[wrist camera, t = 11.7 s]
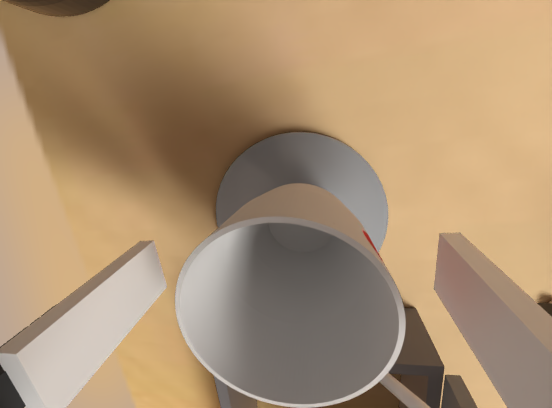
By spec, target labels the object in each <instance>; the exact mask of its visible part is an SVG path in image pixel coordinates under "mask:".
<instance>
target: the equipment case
mask: <svg viewBox="0 0 552 408" xmlns="http://www.w3.org/2000/svg"><path fill="white" fill-rule="evenodd" d="M404 311H405V320H406V327H405V337H404V342H403V345H402V349H401V351H400V354H399V356H398V358H397V360H396V362H395V363H394V365H393V366H392V368H391V369H390V371H389V372H388V373H387V374H386V375H385V376H384V377H383V378H382V379H381V380H380V381H379V382H380V383H381V384H382V385H383V386H385V387H386V388H387V389H388V390H389V391H390V392H391V393H392V394H394V395H395V396H396V397H397V398H398V399H399V400H400V402H399V408H440V399H441V391H442V382H443V374H444V365H443V363H442V361H441V359H440V357H439V355H438V353H437V350H436V348H435V346H434V344H433V342H432V340H431V338H430V336H429V334H428V332H427V330H426V328H425V326H424V324H423V322H422V320H421V318H420V316H419V314H418V312H417V310H416V308H404ZM391 374H401V383H400V382H399V381H398V380H397V379H396V378H394V377H393V376H392V375H391ZM214 379H215V384H216V388H217V393H218V397H219V401H220V406H221V408H258V406H257V400H256V399H254V398H251V397H249V396H247V395H244V394H242V393H240V392H238V391H236V390H235V389H233V388H231V387H229V386H228V385H226V384H225V383H223V382H222V381H221V380H219V379H218V378H217V377H215V376H214ZM441 408H477V406H476V404H475V402H474V400H473V398H472V397H471V395H470V393H469V391H468V389H467V387H466V385H465V383H464V381H463V380H462V378H461V376H457V375H445V381H444V389H443V397H442V406H441Z"/></svg>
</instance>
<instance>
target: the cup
mask: <svg viewBox="0 0 552 408" xmlns="http://www.w3.org/2000/svg"><path fill="white" fill-rule="evenodd" d="M175 309H176V316H177V320H178V324H179V327H180V330H181V332H182V335H183V337H184V339H185V341H186V343H187V345H188V346H189V348H190V349H191V351H192V352H193V354H194V355H195V356H196V358H197V359H198V360H199V361H200V362H201V364H202V365H203V366H204V367H205V368H206V369H207V370H208V371H209V372H211V373H212V374H213V375H214V376H215V377H217V378H218V379H219V380H221V381H222V382H223V383H225V384H226V385H228V386H229V387H231V388H233V389H235V390H236V391H238V392H240V393H242V394H244V395H247V396H249V397H251V398H254V399H257V400H260V401H263V402H266V403H270V404H275V405H280V406H286V407H296V408H312V407H323V406H329V405H333V404H337V403H341V402H344V401H347V400H350V399H352V398H354V397H357V396H359V395H361V394H362V393H364V392H366V391H367V390H369V389H370V388H372V387H373V386H375V385H376V384H377V383H378V382H379V381H380V380H381V379H382V378H383V377H384V376H385V375H386V374H387V373H388V372H389V371H390V369H391V368H392V366H393V365H394V363H395V362H396V360H397V358H398V356H399V354H400V351H401V349H402V345H403V342H404V337H405V327H406V320H405V311H404V306H403V302H402V298H401V296H400V293H399V290H398V288H397V286H396V284H395V282H394V280H393V279H392V277H391V275H390V273H389V271H388V270H387V268H386V266H385V264H384V262H383V261H382V259H381V257H380V255H379V253H378V252H377V250H376V248H375V246H374V244H373V243H372V241H371V239H370V237H369V235H368V234H367V232H366V230H365V228H364V227H363V225H362V224H361V222H360V221H359V220H358V219H357V218H356V217H355V215H354V214H353V213H352V212H351V211H350V210H349V209H348V208H347V207H346V206H345V205H344V204H343V203H342V202H341V201H340V200H339V199H338V198H337V197H336V196H334V195H333V194H332V193H330V192H328V191H327V190H325V189H323V188H320V187H318V186H314V185H310V184H303V183H293V184H287V185H283V186H279V187H277V188H275V189H273V190H270V191H268V192H266V193H264V194H262V195H260V196H258V197H256V198H254V199H252V200H251V201H249V202H248V203H246V204H245V205H244V206H242V207H241V208H240V209H239V210H238V211H237V212H236V213H234V214H233V215H232V216H231V217H230V218H229V219H228V220H226V221H225V222H224V223H223V224H222V225H221V226H220V227H219V228H217V229H216V230H215V231H214V232H213V233H212V234H211V235H210V236H208V237H207V238H206V239H205V240H204V241H203V242H202V243H201V244H199V245H198V246H197V247H196V249H195V250H194V251H193V252H192V253H191V255H190V256H189V257H188V259H187V260H186V262H185V264H184V266H183V268H182V270H181V272H180V275H179V278H178V281H177V286H176V292H175Z"/></svg>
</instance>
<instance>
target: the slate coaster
mask: <svg viewBox="0 0 552 408" xmlns="http://www.w3.org/2000/svg"><path fill="white" fill-rule="evenodd" d="M293 183H303V184H310V185H314V186H318V187H320V188H323V189H325V190H327V191H328V192H330V193H332V194H333V195H334V196H336V197H337V198H338V199H339V200H340V201H341V202H342V203H343V204H344V205H345V206H346V207H347V208H348V209H349V210H350V211H351V212H352V213H353V214H354V215H355V217H356V218H357V219H358V220H359V221H360V222H361V224H362V225H363V227H364V228H365V230H366V232H367V234H368V235H369V237H370V239H371V241H372V243H373V244H374V246H375V248H376V250H377V252H379V250H380V248H381V246H382V243H383V241H384V239H385V235H386V231H387V225H388V205H387V200H386V195H385V192H384V189H383V187H382V184H381V182H380V180H379V178H378V176H377V174H376V173H375V172H374V170H373V169H372V167H371V166H370V165H369V163H368V162H367V161H366V160H365V159H364V158H363V157H362V156H361V155H360V154H359V153H357V152H356V151H355V150H353V149H352V148H351V147H349V146H348V145H346V144H344V143H342V142H341V141H339V140H336V139H334V138H331V137H329V136H326V135H321V134H317V133H310V132H289V133H283V134H278V135H275V136H272V137H269V138H266V139H264V140H262V141H260V142H258V143H256V144H254V145H253V146H251V147H250V148H248V149H247V150H246V151H244V152H243V153H242V154H241V155H240V156H239V157H238V158H237V159H236V160H235V161H234V162H233V163H232V165H231V166H230V167H229V169H228V171H227V172H226V174H225V176H224V178H223V180H222V182H221V184H220V188H219V191H218V195H217V201H216V219H217V226H218V228H219V227H220V226H221V225H222V224H223V223H224V222H225V221H226V220H228V219H229V218H230V217H231V216H232V215H233V214H234V213H236V212H237V211H238V210H239V209H240V208H241V207H242V206H244V205H245V204H246V203H248V202H249V201H251V200H252V199H254V198H256V197H258V196H260V195H262V194H264V193H266V192H268V191H270V190H273V189H275V188H277V187H279V186H283V185H287V184H293Z"/></svg>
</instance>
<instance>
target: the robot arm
mask: <svg viewBox="0 0 552 408" xmlns="http://www.w3.org/2000/svg"><path fill="white" fill-rule="evenodd" d="M3 1H6V2H8V3H11V4H14V5H17V6H20V7H23V8H25V9H28V10H31V11H34V12H37V13H41V14H45V15H50V16H74V15H79V14H83V13H87V12H89V11H92V10H94V9H96V8H98V7H100V6H102V5H103V4H105V3H106V2H108V1H109V0H3ZM166 287H167V285H166V281H165V278H164V274H163V271H162V267H161V264H160V260H159V257H158V253H157V250H156V246H155V243H154V241H140V242H138V243H137V244H136V245H134V246H133V247H132V248H130V249H129V250H128V251H127V252H125V253H124V254H123V255H121V256H120V257H119V258H117V259H116V260H115V261H113V262H112V263H111V264H109V265H108V266H107V267H106V268H104V269H103V270H102V271H100V272H99V273H98V274H96V275H95V276H94V277H92V278H91V279H90V280H88V281H87V282H86V283H85V284H84V285H82V286H81V287H79V288H78V289H77V290H75V291H74V292H73V293H71V294H70V295H69V296H67V297H66V298H65V299H64V300H62V301H61V302H60V303H58V304H57V305H55V306H54V307H52V308H51V309H50V310H48V311H47V312H46V313H44V314H43V315H42V316H41V317H40V318H38V319H37V320H35V321H34V322H32V323H31V324H30V326H28V327H26V328H25V329H23V330H22V331H21V332H19V333H18V334H17V335H16V336H14V337H13V338H12V339H10V340H9V341H7V342H6V343H5V344H3V345H2V346H1V347H0V408H24V407H26V408H66V407H67V406H68V405H69V403H70V402H71V401H72V400H73V399H74V397H75V396H76V395H77V394H78V393H79V391H80V390H81V389H82V388H83V387H84V385H85V384H86V383H87V382H88V381H89V379H90V378H91V377H92V376H93V375H94V373H95V372H96V371H97V370H98V368H99V367H100V366H101V365H102V364H103V363H104V362H105V360H106V359H107V358H108V357H109V356H110V354H111V353H112V352H113V351H114V350H115V348H116V347H117V346H118V345H119V344H120V342H121V341H122V340H123V339H124V338H125V336H126V335H127V334H128V333H129V332H130V330H131V329H132V328H133V327H134V326H135V324H136V323H137V322H138V321H139V320H140V318H141V317H142V316H143V315H144V314H145V313H146V311H147V310H148V309H149V308H150V307H151V305H152V304H153V303H154V302H155V301H156V299H157V298H158V297H159V296H160V295H161V293H162V292H163V291H164V290H165V289H166ZM434 290H435V291H436V293H437V295H438V296H439V298H440V299H441V301H442V303H443V304H444V306H445V308H446V309H447V311H448V312H449V314H450V316H451V317H452V319H453V320H454V322H455V324H456V325H457V327H458V329H459V330H460V332H461V333H462V335H463V337H464V338H465V340H466V341H467V343H468V345H469V346H470V348H471V350H472V351H473V353H474V354H475V356H476V358H477V359H478V361H479V362H480V364H481V366H482V367H483V369H484V371H485V372H486V374H487V375H488V377H489V379H490V380H491V382H492V383H493V385H494V387H495V388H496V390H497V392H498V393H499V395H500V396H501V398H502V400H503V401H504V403H505V405H506V406H507V408H552V304H551V303H536V302H535V301H534V300H533V299H532V298H531V297H530V296H529V295H528V294H526V293H525V292H524V291H523V290H522V289H521V288H520V287H519V286H518V285H517V284H516V283H514V282H513V281H512V280H511V279H510V278H509V277H508V276H507V275H506V274H505V273H504V272H502V271H501V270H500V269H499V268H498V267H497V266H496V265H495V264H494V263H493V262H491V261H490V260H489V259H488V258H487V257H486V256H485V255H484V254H483V253H482V252H481V251H479V250H478V249H477V248H476V247H475V246H474V245H473V244H472V243H471V242H470V241H469V240H467V239H466V238H465V237H464V236H463V235H462V234H461V233H440V234H439V244H438V253H437V263H436V273H435V282H434Z"/></svg>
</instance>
